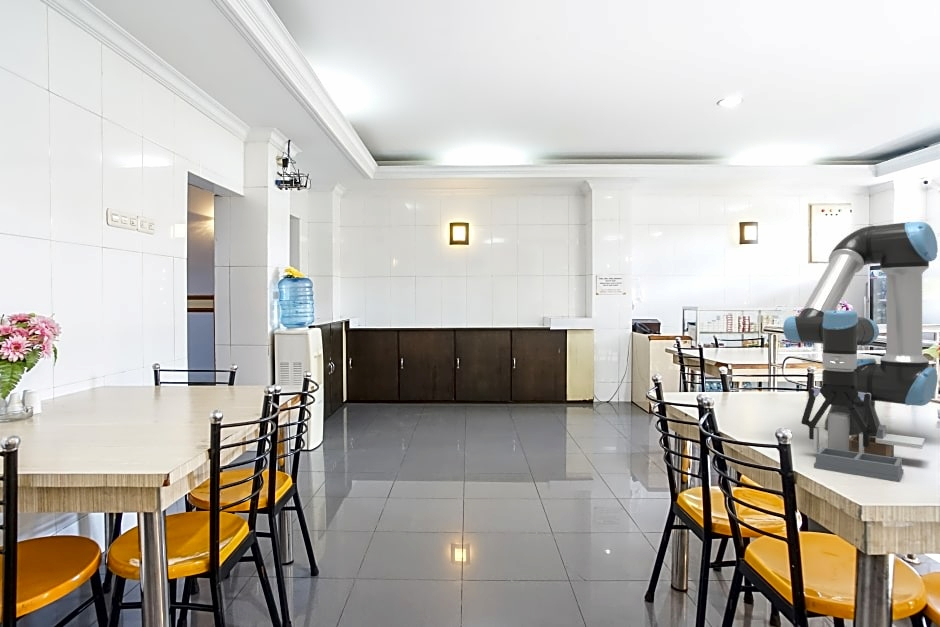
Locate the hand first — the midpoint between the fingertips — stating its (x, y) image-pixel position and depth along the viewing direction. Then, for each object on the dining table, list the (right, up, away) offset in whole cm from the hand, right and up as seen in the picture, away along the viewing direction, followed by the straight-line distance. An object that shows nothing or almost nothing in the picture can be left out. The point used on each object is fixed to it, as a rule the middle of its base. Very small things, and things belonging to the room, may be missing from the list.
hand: (838, 455), depth 150 cm
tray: (+10, -1, +3) cm, 11 cm away
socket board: (-2, -1, -10) cm, 10 cm away
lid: (+15, +4, -2) cm, 15 cm away
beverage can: (0, -1, 0) cm, 1 cm away
